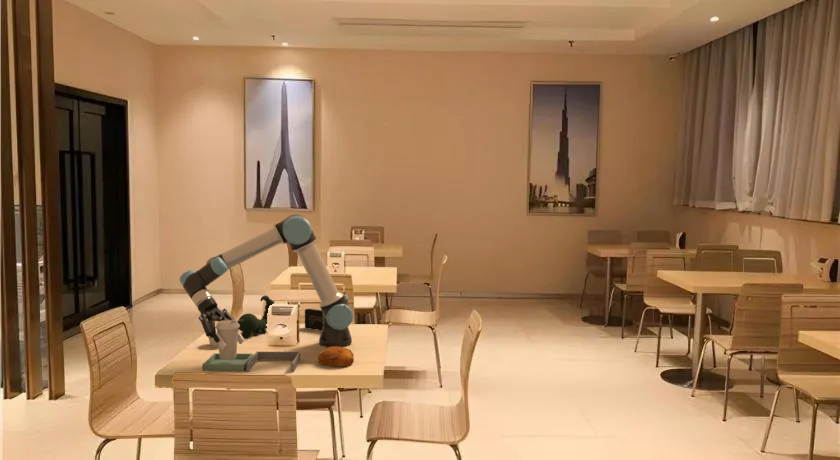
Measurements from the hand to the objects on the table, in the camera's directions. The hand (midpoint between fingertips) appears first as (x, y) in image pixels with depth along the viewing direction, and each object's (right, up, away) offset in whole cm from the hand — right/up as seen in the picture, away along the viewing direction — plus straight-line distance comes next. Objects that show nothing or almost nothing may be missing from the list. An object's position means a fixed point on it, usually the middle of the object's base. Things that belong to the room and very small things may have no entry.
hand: (233, 344), depth 278 cm
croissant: (+42, -9, +7) cm, 43 cm away
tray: (-3, -9, +2) cm, 9 cm away
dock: (+16, -9, +2) cm, 19 cm away
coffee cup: (-3, -6, +2) cm, 7 cm away
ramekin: (-15, -6, +34) cm, 38 cm away
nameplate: (+27, -4, +65) cm, 71 cm away
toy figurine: (-4, -4, +55) cm, 55 cm away
